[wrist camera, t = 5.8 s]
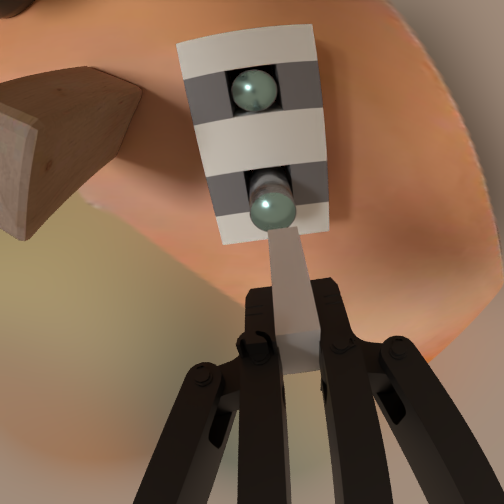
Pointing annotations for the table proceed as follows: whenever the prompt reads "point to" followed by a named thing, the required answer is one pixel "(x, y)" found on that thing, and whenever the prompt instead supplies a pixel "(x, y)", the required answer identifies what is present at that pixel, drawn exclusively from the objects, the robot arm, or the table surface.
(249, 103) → the peg
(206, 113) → the socket board
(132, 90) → the wooden block
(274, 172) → the peg
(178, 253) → the table surface
